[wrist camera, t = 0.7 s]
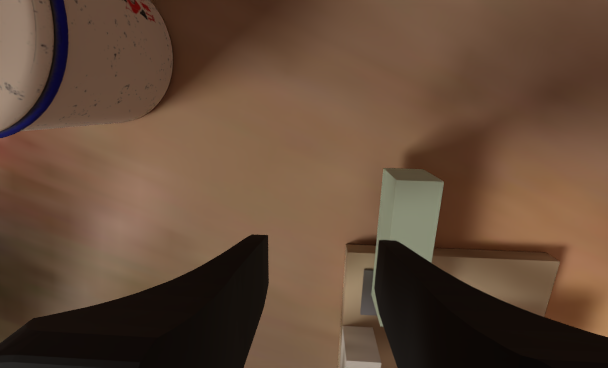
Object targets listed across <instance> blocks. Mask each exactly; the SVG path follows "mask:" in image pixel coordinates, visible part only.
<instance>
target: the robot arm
mask: <svg viewBox="0 0 608 368" xmlns="http://www.w3.org/2000/svg"><path fill="white" fill-rule="evenodd" d="M268 283H269V279H268V235H250V236H248V237H247V238H245V239H244V240H242V241H241V242H239V243H238V244H236V245H235V246H233V247H231V248H230V249H228V250H227V251H225V252H224V253H222V254H221V255H219V256H217V257H216V258H214V259H212V260H210V261H209V262H207V263H205V264H204V265H202V266H200V267H198V268H196V269H194V270H192V271H190V272H188V273H186V274H184V275H182V276H180V277H178V278H175V279H173V280H171V281H168V282H166V283H163V284H160V285H158V286H155V287H152V288H150V289H147V290H144V291H141V292H139V293H136V294H132V295H129V296H126V297H123V298H119V299H116V300H112V301H109V302H105V303H101V304H98V305H94V306H90V307H85V308H81V309H76V310H71V311H67V312H62V313H57V314H53V315H48V316H43V317H38V318H33V319H32V320H30V321H29V322H28V323H26V324H25V325H24V326H22V327H21V328H20V329H18V330H17V331H16V332H14V333H13V334H12V335H10V336H9V337H8V338H6V339H5V340H4V341H3V342H1V343H0V368H244V365H245V362H246V359H247V356H248V353H249V350H250V347H251V344H252V341H253V338H254V335H255V332H256V329H257V326H258V323H259V320H260V317H261V314H262V311H263V308H264V304H265V299H266V294H267V289H268ZM374 290H375V296H376V301H377V306H378V311H379V315H380V318H381V321H382V324H383V327H384V330H385V333H386V336H387V339H388V342H389V344H390V347H391V350H392V353H393V356H394V359H395V362H396V365H397V368H608V337H605V336H601V335H597V334H594V333H591V332H587V331H584V330H581V329H578V328H575V327H572V326H569V325H566V324H563V323H560V322H557V321H554V320H551V319H548V318H545V317H543V316H540V315H537V314H534V313H532V312H529V311H527V310H524V309H522V308H519V307H517V306H514V305H512V304H509V303H507V302H504V301H502V300H500V299H498V298H495V297H493V296H491V295H489V294H487V293H485V292H483V291H481V290H478V289H476V288H474V287H472V286H470V285H468V284H467V283H465V282H463V281H461V280H459V279H457V278H456V277H454V276H452V275H450V274H449V273H447V272H445V271H444V270H442V269H440V268H439V267H437V266H435V265H434V264H432V263H431V262H429V261H428V260H426V259H425V258H423V257H422V256H420V255H418V254H417V253H415V252H414V251H412V250H411V249H409V248H408V247H406V246H405V245H403V244H402V243H400V242H398V241H396V240H379V244H378V254H377V264H376V275H375V285H374Z"/></svg>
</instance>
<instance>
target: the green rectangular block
mask: <svg viewBox="0 0 608 368" xmlns="http://www.w3.org/2000/svg"><path fill="white" fill-rule="evenodd" d="M443 186H444V181H442V180H440V179H439V178H437V177H435V176H434V175H432V174H430V173H429V172H427V171H425V170H424V169H400V168H384V169H383V179H382V189H381V200H380V210H379V220H378V231H377V241H376V251H375V262H374V272H373V282H372V293H371V295H372V299H373V302H374V306H375V309H376V313H377V316H378V320H379V324H380V326H382V327H383V324H382V321H381V318H380V315H379V311H378V306H377V301H376V296H375V290H374V285H375V275H376V264H377V254H378V244H379V240H396V241H398V242H400V243H402V244H403V245H405V246H406V247H408V248H409V249H411V250H412V251H414V252H415V253H417V254H418V255H420V256H422V257H423V258H425V259H426V260H428V261H429V262H431V263H432V256H433V250H434V243H435V237H436V231H437V224H438V218H439V211H440V205H441V198H442V192H443Z"/></svg>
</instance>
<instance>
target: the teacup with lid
mask: <svg viewBox="0 0 608 368" xmlns="http://www.w3.org/2000/svg"><path fill="white" fill-rule="evenodd" d="M172 69H173V52H172V45H171V40H170V37H169V33H168V31H167V28H166V25H165V23H164V21H163V19H162V17H161V15H160V14H159V12H158V10H157V9H156V7H155V6H154V5H153V3H152V2H151V1H150V0H0V138H4V137H7V136H10V135H13V134H15V133H17V132H19V131H28V130H40V129H52V128H64V127H75V126H87V125H99V124H111V123H122V122H128V121H132V120H135V119H138V118H140V117H142V116H144V115H145V114H147V113H148V112H150V111H151V110H152V109H153V108H154V107H155V106H156V105H157V104H158V103H159V102H160V101H161V99H162V98H163V96H164V94H165V92H166V90H167V88H168V86H169V83H170V79H171V75H172Z"/></svg>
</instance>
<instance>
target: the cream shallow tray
mask: <svg viewBox="0 0 608 368" xmlns="http://www.w3.org/2000/svg"><path fill="white" fill-rule="evenodd" d="M375 251H376V245H352V244H346V251H345V266H344V281H343V296H342V311H341V326H340V341H339V357H338V368H397V365H396V362H395V359H394V356H393V353H392V350H391V347H390V344H389V342H388V339H387V336H386V333H385V330H384V327H382V326H380V324H379V320H378V316H377V313H376V309H375V306H374V302H373V299H372V295H371V293H372V282H373V272H374V262H375ZM432 264H434V265H435V266H437V267H439V268H440V269H442V270H444V271H445V272H447V273H449V274H450V275H452V276H454V277H456V278H457V279H459V280H461V281H463V282H465V283H467V284H468V285H470V286H472V287H474V288H476V289H478V290H481V291H483V292H485V293H487V294H489V295H491V296H493V297H495V298H498V299H500V300H502V301H504V302H507V303H509V304H512V305H514V306H517V307H519V308H522V309H524V310H527V311H529V312H532V313H534V314H537V315H540V316H543V317H544V316H545V312H546V309H547V305H548V302H549V298H550V295H551V291H552V288H553V285H554V281H555V278H556V274H557V271H558V267H559V264H560V261H558V260H557V259H555V258H554V257H552V256H551V255H549V254H548V253H544V252H520V251H496V250H472V249H448V248H434V250H433V256H432Z"/></svg>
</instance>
